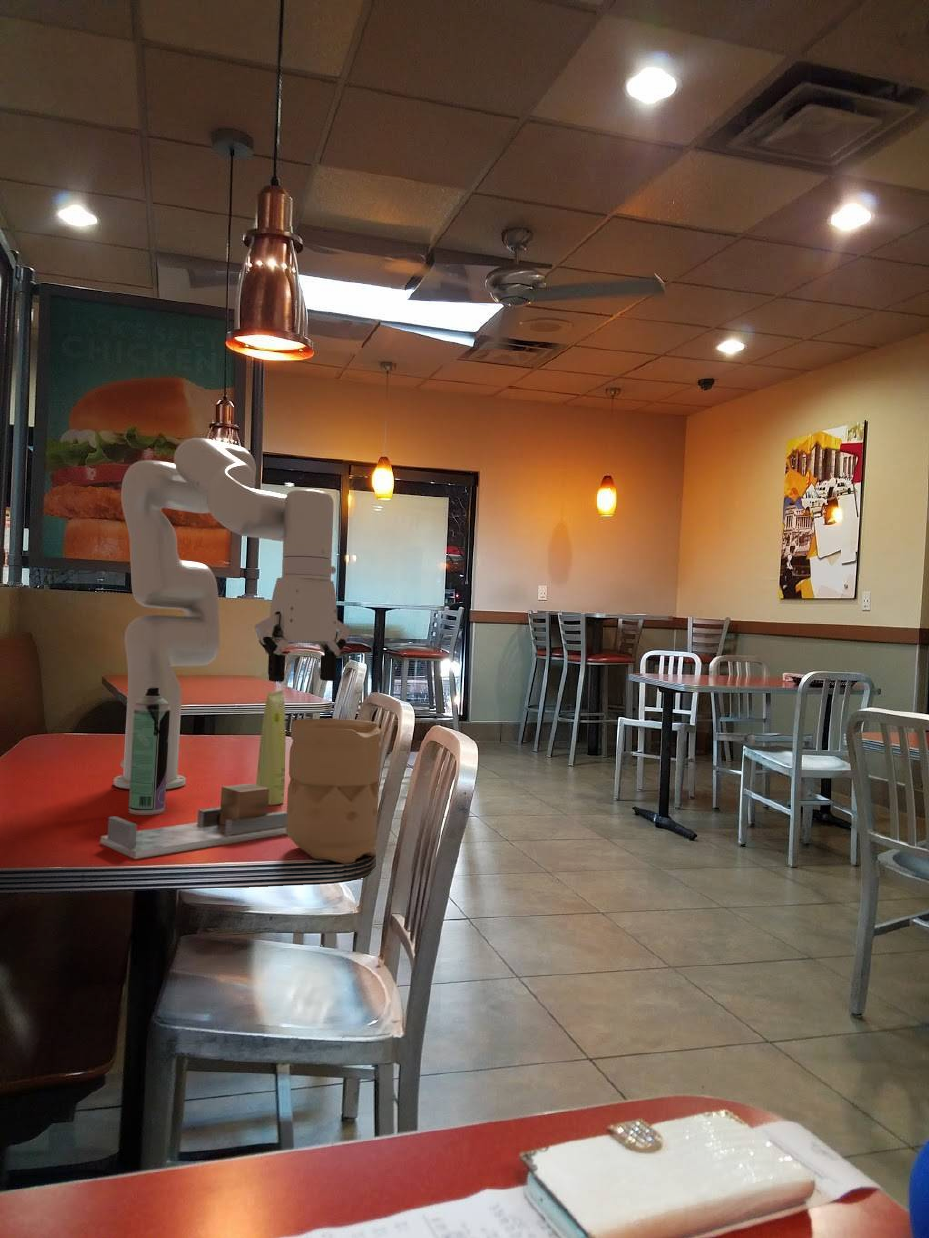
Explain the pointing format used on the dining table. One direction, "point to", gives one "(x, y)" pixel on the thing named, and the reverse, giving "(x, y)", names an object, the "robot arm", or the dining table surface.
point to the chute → (191, 833)
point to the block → (243, 801)
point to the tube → (273, 748)
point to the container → (334, 788)
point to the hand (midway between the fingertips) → (302, 680)
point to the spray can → (149, 754)
